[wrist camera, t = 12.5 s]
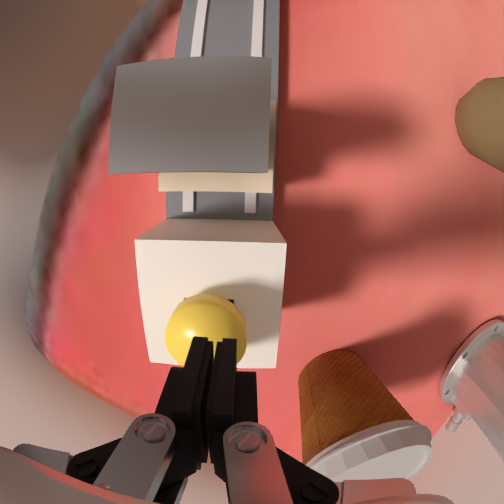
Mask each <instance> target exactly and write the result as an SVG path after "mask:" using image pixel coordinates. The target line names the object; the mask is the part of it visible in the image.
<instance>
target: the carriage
mask: <svg viewBox="0 0 504 504" xmlns="http://www.w3.org/2000/svg"><path fill="white" fill-rule="evenodd" d="M271 69H272V58H270V57H254V56H198V57H181V58H170V59H160V60H152V61H144V62H138V63H131V64H125V65H120V66H117V70H116V77H115V84H114V92H113V101H112V111H111V123H110V139H109V170H108V175H109V174H130V173H159V192H161V191H214V192H253V193H272V187H273V165H274V140H275V112H276V101H273V100H271Z"/></svg>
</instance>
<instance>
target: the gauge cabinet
mask: <svg viewBox="0 0 504 504" xmlns="http://www.w3.org/2000/svg"><path fill="white" fill-rule="evenodd" d="M286 248H287V243H286V241H285V240H284V238H283V236H282V235H281V233H280V232H279V230H278V229H277V227H276V225H275V224H274V222H273V221H261V220H227V219H165V220H164V221H162V222H160V223H159V224H157V225H156V226H154V227H153V228H151V229H150V230H148V231H147V232H145V233H144V234H142V235H141V236H139V237H138V238H136V239H135V252H136V265H137V275H138V285H139V294H140V302H141V310H142V317H143V324H144V330H145V337H146V343H147V348H148V354H149V359H150V362H155V363H164V364H174V365H181V364H179V363H178V362H177V361H176V360H175V359H174V358H173V357H172V356H171V354H170V353H169V351H168V349H167V347H166V344H165V329H166V326H167V324H168V322H169V320H170V317H171V315H172V313H173V311H174V309H175V308H176V306H177V305H178V304H179V303H180V302H182V301H183V300H185V299H186V298H188V297H191V296H194V295H199V294H212V295H216V296H220V297H222V298H225V299H234V305H235V306H236V307H237V308H238V309H239V310H240V312H241V313H242V315H243V317H244V319H245V323H246V338H247V346H246V351H245V354H244V356H243V358H242V359H241V361H240V362H239V363H238V364H237V368H276V359H277V350H278V340H279V330H280V320H281V309H282V298H283V286H284V274H285V261H286Z"/></svg>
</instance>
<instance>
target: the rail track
mask: <svg viewBox="0 0 504 504" xmlns="http://www.w3.org/2000/svg"><path fill="white" fill-rule="evenodd" d="M279 8H280V0H183V5H182V11H181V16H180V22H179V29H178V35H177V42H176V50H175V58H181V57H198V56H254V57H270V58H272V69H271V100H273V101H276V112H275V140H274V165H273V187H272V193H253V192H214V191H166V209H167V219H227V220H261V221H273V204H274V184H275V161H276V136H277V107H278V71H279ZM228 301H230V302H231V303H233V304H234V299H228Z"/></svg>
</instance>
